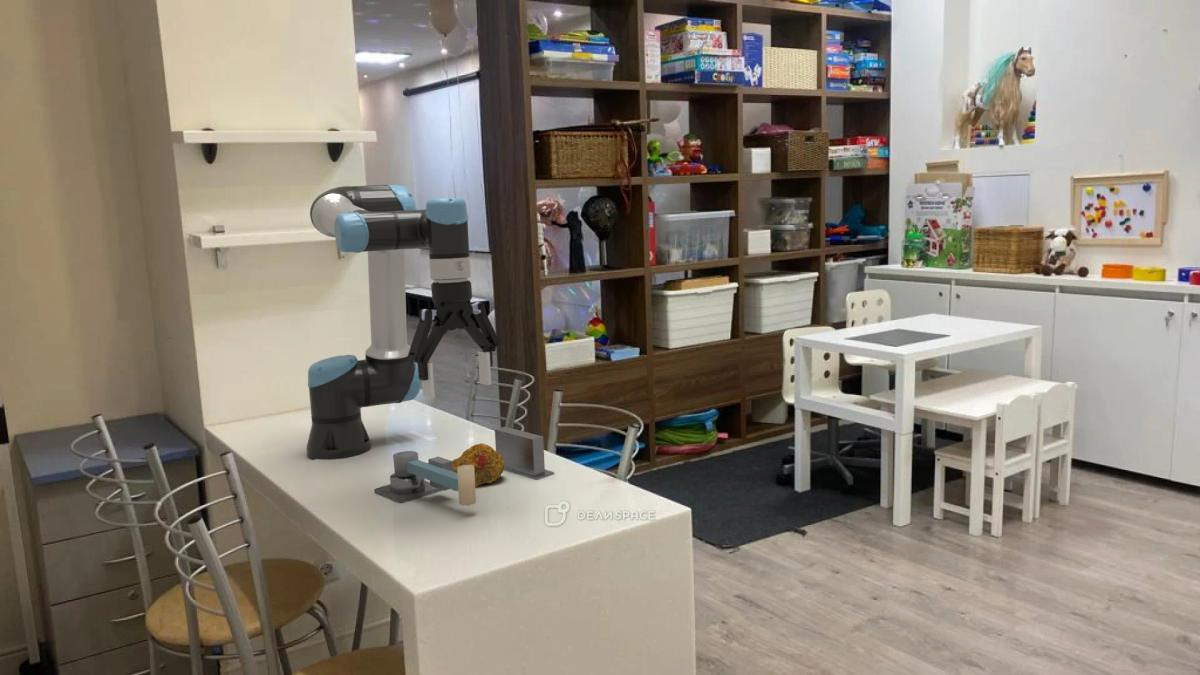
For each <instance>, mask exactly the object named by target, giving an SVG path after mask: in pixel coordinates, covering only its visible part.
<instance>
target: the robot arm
mask: <svg viewBox="0 0 1200 675" xmlns="http://www.w3.org/2000/svg"><path fill="white" fill-rule="evenodd" d="M309 216H310V217H309V218H310V221H311V224H312V225H313V227H314V228H315V229H316V231H318V232H319V233H321V234H322V235H324V236H326V237H329V238H335V243H336V245H337V248H338V250H339V251H340V252H342V253H355V254H360V253H364V252H365V253H366V252H367V265H368V266H367V268H368V270H367V272H368V273H367V274H368V292H369V293H368V295H369V315H370V316H369V319H370V321H369V323H370V338H371V339H370V342H371V343H370V346H368V348H367V349H366V350H365V356H364V357H365V359H360V360H359V359H358V358H357V356H356V355H353V354H345V355H336V356H332V357H327V358H324V359H320V360H318V361H316V362H314V363H312V364H311V365H310V366H309V368H308V370H307V387H308V393H309V401H310V402H309V404H310V405H309V406H310V415H311V416H310V417H311V426H310V427H311V428H310V431H309V434H308V440H307V443H306V457H307V458H309V459H310V460H325V461H326V460H327V461H328V460H329V461H330V460H332V461H333V460H340V459H348V458H353V457H356V456H359V455H363V454H365V453H367V452H369V451H370V450H371V449H372V443H371V439H370V436H369V434H368V431H367V428H366V427H365V425H364V422H363V420H362V412H361V411H362V410H361V409H362V408H367V407H368V408H369V407H376V406H383V405H390V404H401V403H404V402H407V401H408V402H410V401H412V400H414V399H416V398H417V396H418V394H419V393H420V390H421V387H422V396H423V397H426V398H430V399H432V398H435V397H436V394H435V380H434V378H435V377H434V364H433V362H429V361H430V360H431V359H432V356H433V354H434V353H435V351H436V349H437V348H438V346H439V344H440V342H441V340H442V338H443V337H444V335H445V334H447V332H448V331H454V330H456V329H460V330H462V329H464V330H465V331H466V333H467V334H468V335H469V336H470V337H471V338H472V340H473V341H474V343H476V345H477V346H478V347H479V348H480V350H478V351H477V357H478V359H477V360H478V373H479V374H478V375H479V384H481V385H484V386H490V385H492V372H491V370H492V367H493V365H494V363H493V362H494V361H493V352H496V350H497V347H500V345H501V341H500V340H499V337H498V335H497V333H496V331H495V329H494V327H493V325H492V324H493V323H491V321H490V318H489V317H488V314H487V311H486V304H485V303H484V302H483V301H482V302H480V301H474V302H472V303H471V300H472V299H473V288H472V282H471V281H470V280H468V279H469V278H470V277H472V275H471V273H472V272H471V258H470V242H469V224H468V223H469V222H468V221H469V215H468V210H467V203H466V200H465V199H464V198H462V197H448V198H447V197H443V198H442V197H439V198H429V199H428V200H427V201H426V203H425V208H422V209H417V206H416V201H415V200H414V197H413V194H412V193H411V191H410V190H409V189H408V188H407V187H406V186H404V185H399V184H397V185H396V184H375V185H353V186H352V185H345V186H343V185H342V186H338V187H333V188H331V189H328V190H325V191H324V192H322V193H321V194H319V195H318V196H317V197H315V199H314V200H313V202H312V204H311V206H310V210H309ZM413 249H414V250H417V249H428V254H429V255H428V256H429V275H430V276H429V277H430V279H431V280H432V281H433V282H432V283H431V284H430V288H431V300H432V302H433V309H427V308H420V310H419V312H418V314H419V316H418V317H419V318H418V324H417V327H416V329H415V333H414V336H413V339H412V341H411V345H409V344H408V341H407V340H408V333H407V330H408V329H407V299H406V295H407V294H406V266H405V265H406V264H405V250H413ZM472 314H473V316H474V318H475V320H473V318H472V317H471V316H472ZM433 320H434V323H433ZM475 321H476V322H475ZM432 323H433V324H432ZM477 324H478V326H477ZM479 328H480V329H479ZM430 330H431V331H430Z"/></svg>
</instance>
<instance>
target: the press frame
mask: <svg viewBox="0 0 1200 675" xmlns="http://www.w3.org/2000/svg"><path fill="white" fill-rule="evenodd" d="M494 438H495V444H494V445H495V451H496V452H497V453H499V454H501V456H502V457H503V459H504V461H505V462H504V470H503V471H505V472H509V473H513V474H515V475H518V476H523V477H525V478H528V479H532V480H536V481H538V480H542V479H544V478H547V477H551V476H552V475H555V471H552V470H549V469H546V468H545V466H546V464H545V448H544V447H545V446H544V445H545V444H544V441H545V440H544V436H542V435H538V434H535V433H531V432H527V431H525V430H524V431H523V430H520V429H515V428H513V427H507V426H503V427H499V428H496V429H494ZM373 490H374V493H375V494H377V495H378V496H379V495H380V496H382V497H384V498H387V499H390V500H392V501H395V502H397V503H400V504H402V503H405V502H406V503H407V502H409V501H412V500H415V499H419V498H422V497H426V496H429V495H433V494H435V493H438V492H441V491H443V490H441V489H438V488H435V487H433V486H430V481H427V480H426V479H424V478H422V477H419V476H416V475H414V476H409V477H398V476H396V475H395V472H394V473H392V474H390V475H389V484H386V485H382V486H379V487H376V488H373Z"/></svg>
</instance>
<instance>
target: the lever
mask: <svg viewBox="0 0 1200 675" xmlns="http://www.w3.org/2000/svg"><path fill="white" fill-rule="evenodd" d="M392 456H393V457H392V458H393V468H394V471H393V472H394V473H395V475H396V476H398V477H409V476H414V475H416V476H419V477H422V478H424V479H425V480H426V481H427V480H428V481H429V482H430V486H433V487H435V488H438V489H441V490H442V491H444V492H445V491H448V490H450V489H451V490H455V491H458V502H459V505H460V506H472V505H474V504H476V503H477V496H476V494H477V492H476V487H475V473H474V466H473V465H462V466H459V467H457V473H455V472H453V462H452V461H453V460H450V459H448V458H444V457H441V456H435V457H432V458H428V462H426V461H422V460H419V453H418V452H417V451H414V450H406V451H405V450H404V451H399V452H396V453H394V454H393V455H392Z"/></svg>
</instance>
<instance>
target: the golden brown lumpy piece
mask: <svg viewBox="0 0 1200 675" xmlns="http://www.w3.org/2000/svg"><path fill="white" fill-rule="evenodd" d="M451 461H452V462H453V472H455V473H457V467H459V466H462V465H473V466H474V473H475V488H476V487H479V486H480V485H483V484H484V485H485V484H493V483H494V482H496V481H497V479H500V478H501V476H502V474H503V472H504V471H505V470H504V462H505V461H504V459H503V457H502V456H501V454H499V453H497V452H496V449H494V448H493V447H492V446H490V445H488V444H486V443H483V442H480V443H477V444H474V445H472V446H470V447H469V448H468V449H466V450H464V451H463V452H462V454H461V455H460V456H458V457H457V458H454V459H453V460H451Z"/></svg>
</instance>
